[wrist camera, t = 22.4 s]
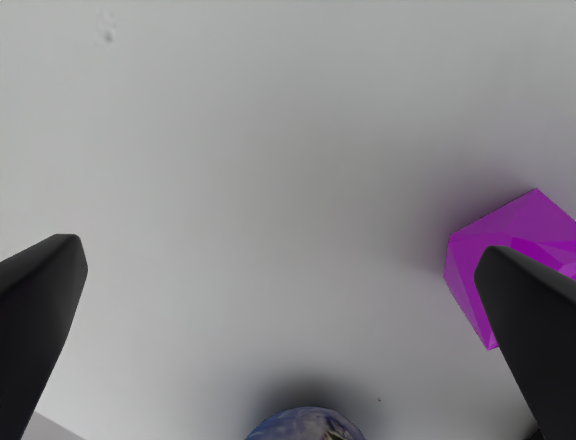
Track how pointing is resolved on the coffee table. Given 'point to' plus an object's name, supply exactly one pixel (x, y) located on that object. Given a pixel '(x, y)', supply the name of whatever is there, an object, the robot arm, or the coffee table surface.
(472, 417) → the coffee table surface
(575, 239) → the crystal
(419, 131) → the coffee table surface
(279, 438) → the blueberry
